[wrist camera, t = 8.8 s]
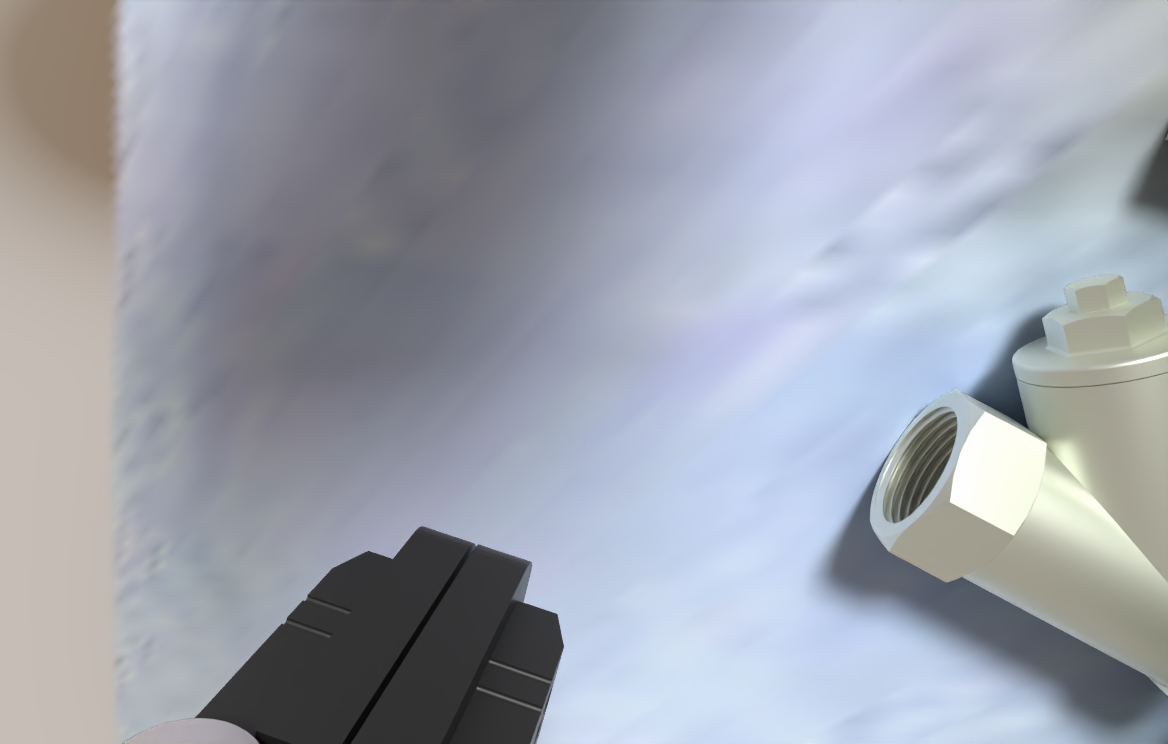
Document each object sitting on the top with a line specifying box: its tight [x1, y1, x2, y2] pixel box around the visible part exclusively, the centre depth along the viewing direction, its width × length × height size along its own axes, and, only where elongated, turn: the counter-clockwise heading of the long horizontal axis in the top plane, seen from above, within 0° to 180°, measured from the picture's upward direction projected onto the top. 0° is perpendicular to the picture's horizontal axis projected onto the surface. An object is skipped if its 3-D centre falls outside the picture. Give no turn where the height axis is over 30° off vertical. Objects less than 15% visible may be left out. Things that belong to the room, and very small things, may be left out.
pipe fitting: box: [870, 274, 1168, 696], centre depth 15 cm, size 8×4×7 cm
